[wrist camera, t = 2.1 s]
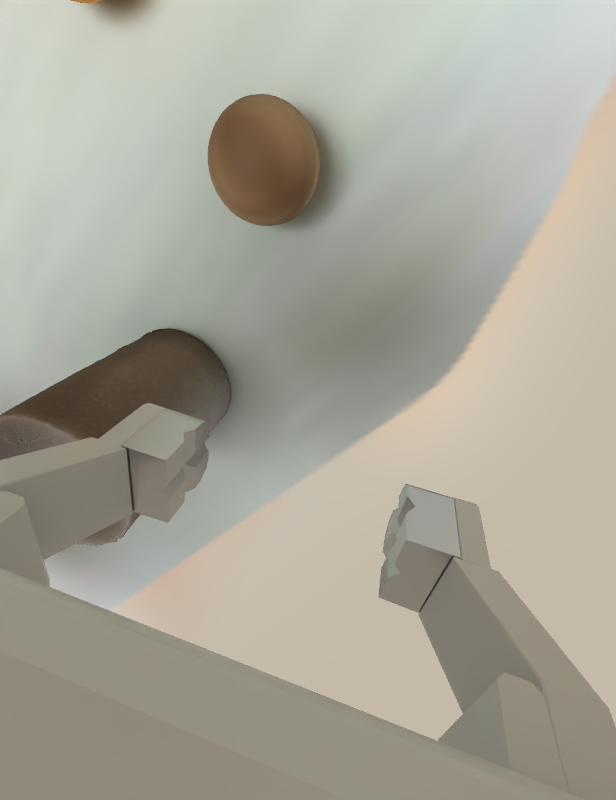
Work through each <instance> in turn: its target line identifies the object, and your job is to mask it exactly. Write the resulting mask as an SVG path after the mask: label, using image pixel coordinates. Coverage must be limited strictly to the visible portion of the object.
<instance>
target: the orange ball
mask: <svg viewBox="0 0 616 800" xmlns="http://www.w3.org/2000/svg"><path fill="white" fill-rule="evenodd" d="M72 1H76V2H80V3H95V2H100V1H102V0H72Z"/></svg>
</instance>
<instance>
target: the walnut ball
mask: <svg viewBox="0 0 616 800" xmlns="http://www.w3.org/2000/svg"><path fill="white" fill-rule="evenodd" d="M208 165H209V171H210V176H211V179H212V182H213V185H214V187H215V189H216V192H217V193H218V195H219V197H220V198H221V200H222V201H223V203H224V204H225V205H226V206H227V207H228V208H229V209H230V210H231V211H232V212H233V213H234V214H235V215H237V216H238V217H240V218H241V219H243V220H245V221H247V222H250V223H253V224H256V225H262V226H273V225H279V224H282V223H285V222H287V221H289V220H291V219H293V218H294V217H295V216H297V215H298V214H299V213H300V212H301V211H302V210H303V209H304V208H305V207H306V206H307V204H308V203H309V201H310V200H311V198H312V196H313V194H314V192H315V189H316V186H317V183H318V178H319V172H320V157H319V150H318V145H317V141H316V138H315V136H314V133H313V131H312V129H311V127H310V125H309V123H308V122H307V120H306V119H305V118H304V116H303V115H302V114H301V113H300V112H299V111H298V110H297V109H296V108H295V107H294V106H293V105H291V104H290V103H288V102H287V101H285V100H283V99H280V98H278V97H276V96H272V95H266V94H256V95H249V96H246V97H243V98H241V99H239V100H237V101H235V102H234V103H232V104H231V105H230V106H228V107H227V108H226V109H225V110H224V111H223V113H222V114H221V115H220V117H219V118H218V120H217V122H216V123H215V126H214V128H213V130H212V133H211V137H210V141H209V146H208Z"/></svg>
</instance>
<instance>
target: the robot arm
mask: <svg viewBox="0 0 616 800" xmlns="http://www.w3.org/2000/svg"><path fill="white" fill-rule="evenodd" d="M208 437H209V424H208V423H207V422H206V421H203V420H200V419H197V418H194V417H191V416H188V415H185V414H182V413H179V412H176V411H173V410H170V409H166V408H164V407H161V406H157V405H154V404H151V403H148V404H143V405H142V406H141V407H139V408H138V409H137V410H135V411H134V412H133V413H132V414H130V415H129V416H128V417H126V418H125V419H124V420H122V421H121V422H120V423H118V424H117V425H116V426H114V427H113V428H112V429H111V430H109V431H108V432H107V433H105V434H104V435H103V436H101V437H100V438H99V439H96V438H93V437H90V438H86V439H82V440H78V441H74V442H70V443H66V444H62V445H58V446H54V447H50V448H46V449H42V450H38V451H34V452H31V453H27V454H23V455H19V456H15V457H11V458H7V459H3V460H0V800H616V727H615V725H614V722H613V719H612V716H611V713H610V711H609V708H608V707H607V706H606V704H605V703H604V702H603V701H602V699H601V698H600V697H599V696H598V695H597V693H596V692H595V691H594V690H593V689H592V687H591V686H590V685H589V683H588V682H587V681H586V680H585V678H584V677H583V676H582V675H581V673H580V672H579V671H578V670H577V668H576V667H575V666H574V665H573V663H571V661H570V660H569V659H568V657H567V656H566V655H565V654H564V652H563V651H562V650H561V649H560V647H559V646H558V645H557V644H556V642H555V641H554V640H553V639H552V637H551V636H550V635H549V634H548V632H547V631H546V630H545V629H544V627H543V626H542V625H541V624H540V622H539V621H538V620H537V619H536V618H535V616H534V615H533V614H532V613H531V611H530V610H529V609H528V607H527V606H526V605H525V604H524V603H523V601H522V600H521V599H520V598H519V596H518V595H517V594H516V593H515V591H514V590H513V589H512V588H511V586H510V585H509V584H508V583H507V582H506V580H505V579H504V578H503V577H502V575H501V574H500V573H499V572H498V571H495V570H492V569H491V566H490V562H489V557H488V551H487V546H486V541H485V536H484V531H483V526H482V521H481V516H480V511H479V507H478V506H477V505H476V504H474V503H470V502H467V501H464V500H460V499H456V498H453V497H452V498H451V497H448V496H444V495H441V494H438V493H435V492H431V491H428V490H424V489H421V488H418V487H415V486H411V485H408V484H405V486H404V488H403V489H402V492H401V494H400V496H399V507H398V509H396V510H393V513H392V515H391V518H390V520H389V523H388V527H387V530H386V534H385V540H384V547H383V552H384V554H385V556H386V560H385V562H384V564H383V566H382V569H381V577H380V588H379V598H382V599H385V600H387V601H390V602H392V603H395V604H397V605H400V606H403V607H405V608H408V609H410V610H413V611H416V612H418V613H419V617H420V619H421V621H422V624H423V626H424V628H425V630H426V632H427V635H428V637H429V639H430V641H431V644H432V646H433V648H434V650H435V653H436V655H437V657H438V659H439V661H440V664H441V666H442V668H443V670H444V672H445V675H446V677H447V679H448V681H449V684H450V686H451V688H452V690H453V693H454V695H455V697H456V699H457V702H458V704H459V706H460V708H461V710H462V713H463V715H462V716H461V717H460V718H459V719H458V720H457V721H456V722H455V723H454V724H453V725H452V726H451V727H450V728H449V729H448V730H447V731H446V732H445V733H444V734H443V735H442V736H441V737H440V738H439V739H438V741H436V740H434V739H431V738H429V737H426V736H424V735H421V734H418V733H416V732H413V731H411V730H408V729H406V728H403V727H401V726H398V725H396V724H393V723H391V722H388V721H386V720H383V719H380V718H378V717H376V716H373V715H370V714H368V713H366V712H363V711H360V710H358V709H356V708H353V707H350V706H348V705H346V704H343V703H341V702H338V701H335V700H333V699H330V698H328V697H325V696H323V695H320V694H318V693H315V692H313V691H310V690H308V689H305V688H303V687H300V686H298V685H295V684H293V683H290V682H288V681H285V680H283V679H280V678H278V677H275V676H272V675H270V674H267V673H265V672H263V671H260V670H258V669H255V668H252V667H250V666H248V665H245V664H243V663H240V662H237V661H235V660H232V659H230V658H227V657H225V656H222V655H220V654H217V653H215V652H212V651H210V650H207V649H205V648H202V647H199V646H197V645H195V644H192V643H189V642H187V641H184V640H182V639H179V638H177V637H174V636H172V635H169V634H166V633H164V632H161V631H159V630H157V629H154V628H151V627H149V626H146V625H144V624H141V623H139V622H136V621H134V620H131V619H129V618H126V617H124V616H121V615H119V614H116V613H113V612H111V611H109V610H106V609H104V608H101V607H99V606H96V605H94V604H91V603H89V602H86V601H83V600H81V599H78V598H76V597H73V596H71V595H68V594H66V593H63V592H61V591H58V590H56V589H53V588H51V587H49V582H50V579H49V575H48V572H47V569H46V566H45V563H44V559H46V558H48V557H49V556H51V555H53V554H55V553H57V552H59V551H61V550H63V549H65V548H67V547H69V546H71V545H73V544H75V543H77V542H79V541H80V540H82V539H84V538H86V537H88V536H90V535H92V534H94V533H96V532H98V531H100V530H102V529H104V528H106V527H108V526H110V525H112V524H113V523H115V522H117V521H119V520H121V519H123V518H125V517H127V516H129V515H131V514H132V513H133V512H136V513H139V514H142V515H146V516H149V517H152V518H155V519H158V520H161V521H164V522H167V523H168V522H169V521H170V519H171V518H172V517H173V515H174V514H175V513H176V512H177V510H178V509H179V508H180V506H181V505H182V504H183V503H184V492H186V491H189V490H191V489H194V488H195V487H196V485H197V484H198V483H199V481H200V480H201V478H202V476H203V473H204V471H205V469H206V465H207V461H208V450H207V448H206V446H205V445H204V442H205V441H206V440H207V438H208Z"/></svg>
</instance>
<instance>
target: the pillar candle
mask: <svg viewBox="0 0 616 800" xmlns="http://www.w3.org/2000/svg"><path fill="white" fill-rule="evenodd" d="M229 402H230V383H229V380H228V377H227V374H226V371H225V369H224V367H223V365H222V364H221V362H220V361H219V359H218V358H217V357H216V355H215V354H213V352H212V351H211V350H210V349H209V348H208V347H206V345H204V344H203V343H201V342H200V341H199V340H197V339H195V338H193V337H191V336H189V335H187V334H185V333H183V332H180V331H177V330H172V329H159V330H154V331H152V333H150V332H149V333H147V334H145V335H144V336H143V337H141V338H140V339H138V340H136V341H135V342H133V343H131V344H129V345H126V346H124V347H122V348H120V349H118V350H117V351H116V352H114V353H112V354H111V355H109V356H107V357H105V358H103V359H101V360H99V361H97V362H95V363H94V364H92V365H90V366H88V367H86V368H84V369H82V370H80V371H78V372H76V373H74V374H73V375H71V376H69V377H68V378H66V379H64V380H62V381H60V382H58V383H56V384H54V385H53V386H51V387H49V388H47V389H46V390H44V391H42V392H40V393H39V394H37V395H35V396H33V397H31V398H29V399H27V400H26V401H24V402H22V403H21V404H19V405H17V406H15V407H14V408H12V409H10V410H8V411H6V412H5V413H3V414H1V415H0V460H3V459H7V458H11V457H15V456H19V455H23V454H27V453H31V452H34V451H38V450H42V449H46V448H50V447H54V446H58V445H62V444H66V443H70V442H74V441H78V440H82V439H86V438H90V437H93V438H96V439H99V438H100V437H101V436H103V435H104V434H105V433H107V432H108V431H109V430H111V429H112V428H113V427H114V426H116V425H117V424H118V423H120V422H121V421H122V420H124V419H125V418H126V417H128V416H129V415H130V414H132V413H133V412H134V411H135V410H137V409H138V408H139V407H141V406H142V405H143V404H148V403H151V404H154V405H157V406H161V407H164V408H166V409H170V410H173V411H176V412H179V413H182V414H185V415H188V416H191V417H194V418H197V419H200V420H203V421H206V422H207V423H208V424H209V433H210V432H211V430H212V429H213V428H214V427H215V425H216V424H217V423H218V422H219V421H220V419H221V418H222V417H223V415H224V414H225V412H226V410H227V408H228V405H229ZM139 515H140V514H139V513H136V512H133V513H132V514H131V515H129V516H127V517H125V518H123V519H121V520H119V521H117V522H115V523H113V524H112V525H110V526H108V527H106V528H104V529H102V530H100V531H98V532H96V533H94V534H92V535H90V536H88V537H86V538H84V539H82V540H80V541H79V542H77V543H80V544H84V543H85V544H87V545H94V546H97V545H103V544H104V543H109V542H117V539H118V538H122V537H123V536H124V535H125V533H126V531H127V530H128V529H129V528H130V526H131V525H132V524H133V523H134V521H135V520H136V519H137V518H138V517H139Z"/></svg>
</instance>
